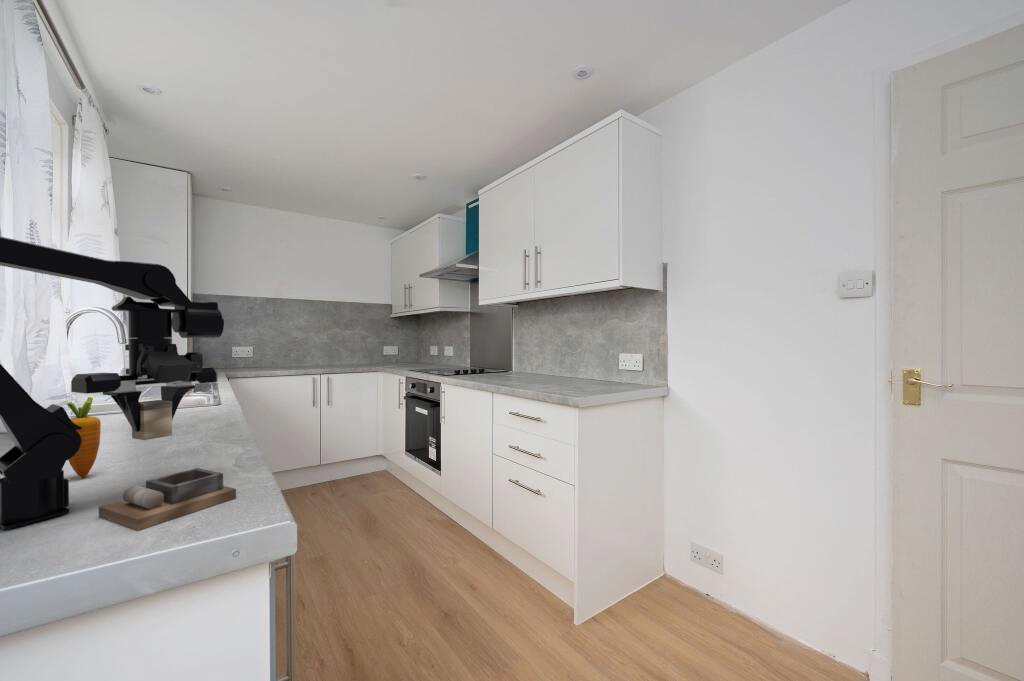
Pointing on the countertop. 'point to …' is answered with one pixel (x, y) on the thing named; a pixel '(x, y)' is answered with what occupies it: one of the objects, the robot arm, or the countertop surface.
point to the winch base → (168, 498)
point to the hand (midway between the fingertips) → (152, 428)
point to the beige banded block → (154, 420)
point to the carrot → (85, 438)
